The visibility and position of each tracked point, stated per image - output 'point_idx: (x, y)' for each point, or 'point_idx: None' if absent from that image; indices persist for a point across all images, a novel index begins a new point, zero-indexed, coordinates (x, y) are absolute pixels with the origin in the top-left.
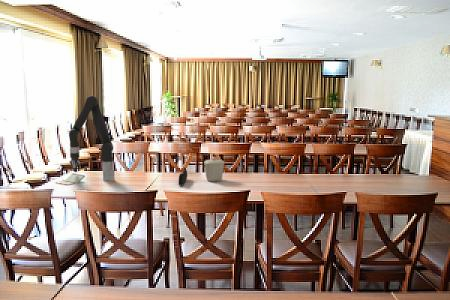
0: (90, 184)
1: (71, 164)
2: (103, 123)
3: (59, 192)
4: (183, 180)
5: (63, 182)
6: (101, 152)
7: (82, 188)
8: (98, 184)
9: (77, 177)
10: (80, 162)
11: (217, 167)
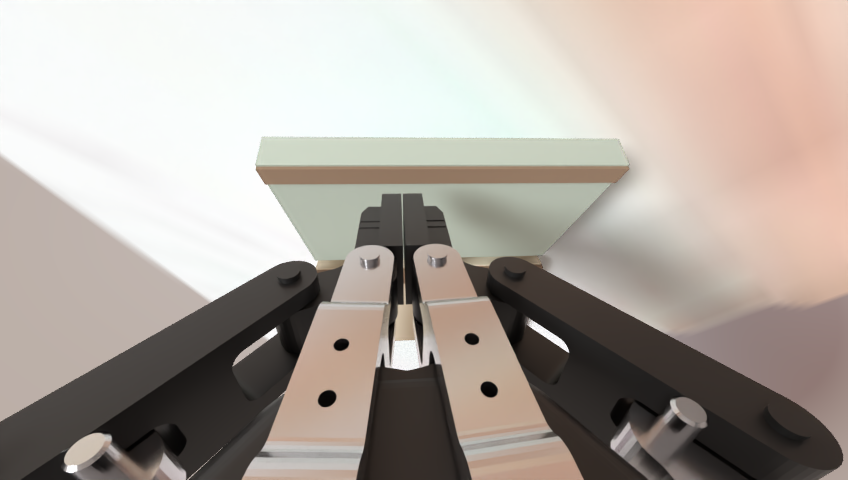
0: (702, 157)
1: (256, 399)
2: None
3: None
4: None
5: (410, 314)
6: None
7: (699, 299)
8: (819, 97)
9: (496, 211)
10: (811, 439)
11: None
